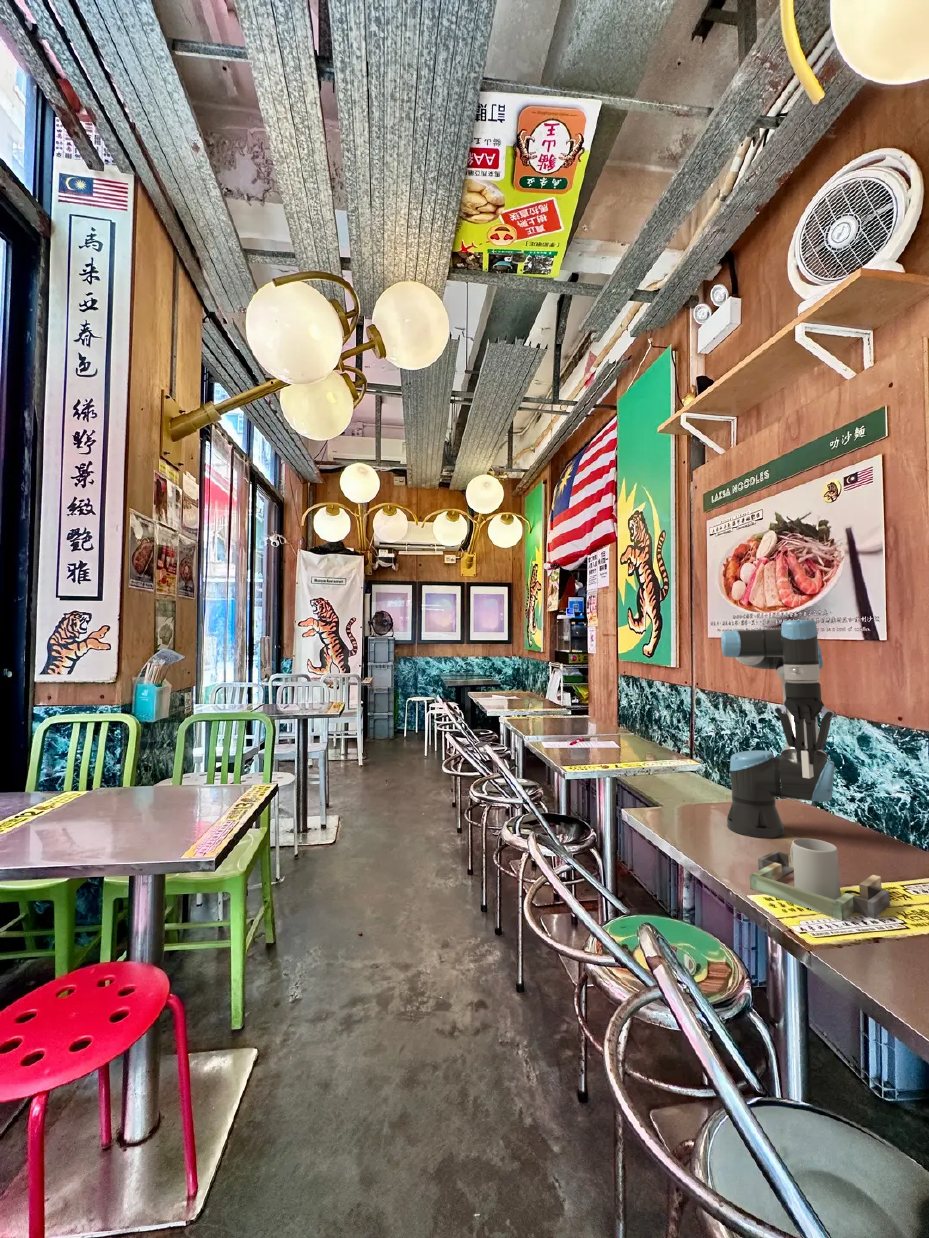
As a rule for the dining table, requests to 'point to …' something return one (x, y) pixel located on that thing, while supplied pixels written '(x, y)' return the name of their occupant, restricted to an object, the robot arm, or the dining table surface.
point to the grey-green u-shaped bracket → (780, 865)
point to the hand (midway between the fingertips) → (808, 776)
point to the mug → (816, 867)
